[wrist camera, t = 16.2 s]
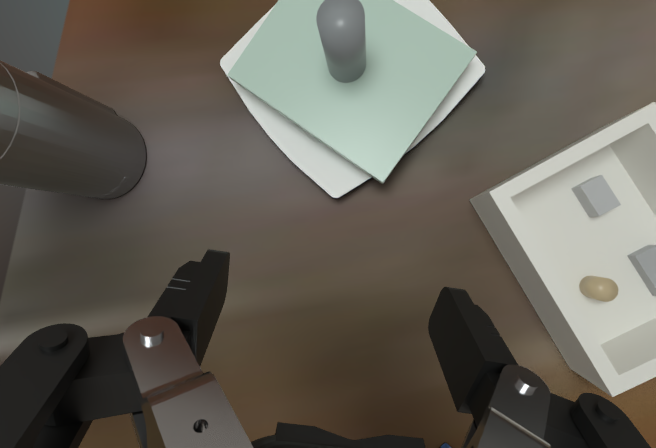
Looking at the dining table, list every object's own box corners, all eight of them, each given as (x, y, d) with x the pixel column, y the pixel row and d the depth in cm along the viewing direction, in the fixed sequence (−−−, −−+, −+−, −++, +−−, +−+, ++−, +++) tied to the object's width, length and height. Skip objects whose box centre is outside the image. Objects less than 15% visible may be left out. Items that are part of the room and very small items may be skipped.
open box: (469, 199, 35) (489, 192, 29) (604, 125, 34) (654, 101, 28) (569, 368, 33) (612, 396, 27) (715, 297, 32) (794, 311, 26)
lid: (235, 83, 36) (190, 33, 27) (315, -34, 36) (297, -124, 27) (382, 185, 34) (386, 167, 25) (470, 62, 33) (507, -1, 24)
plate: (359, -58, 38) (358, -80, 35) (493, 82, 36) (502, 70, 33) (216, 73, 39) (205, 61, 37) (336, 215, 37) (334, 214, 34)
